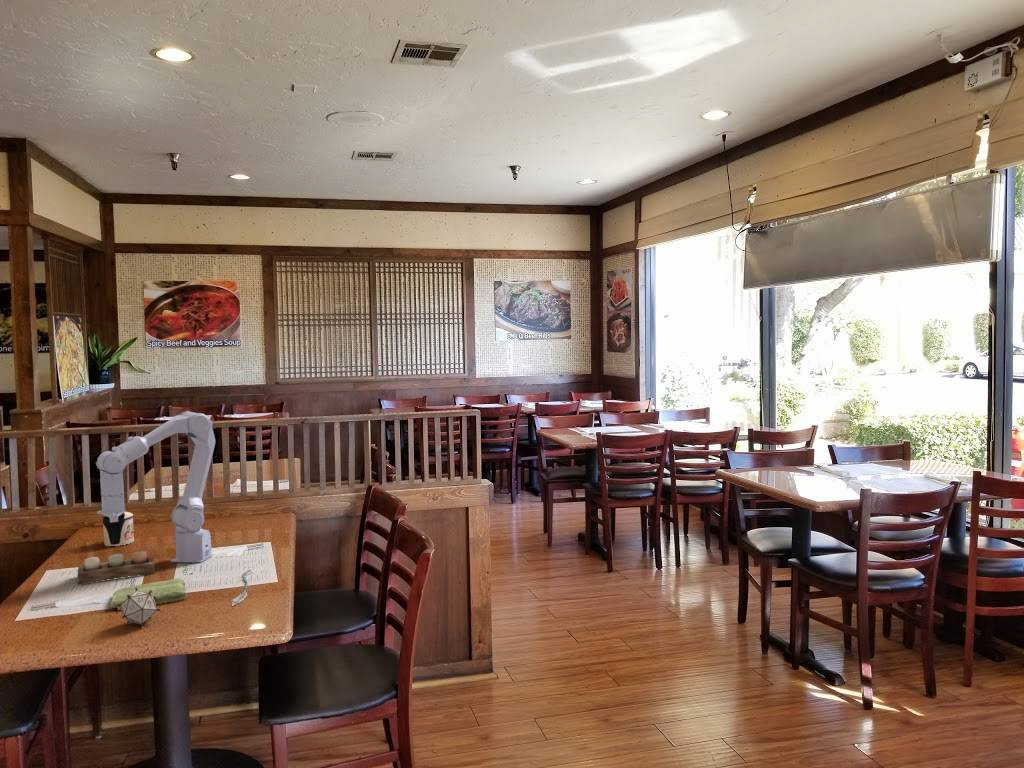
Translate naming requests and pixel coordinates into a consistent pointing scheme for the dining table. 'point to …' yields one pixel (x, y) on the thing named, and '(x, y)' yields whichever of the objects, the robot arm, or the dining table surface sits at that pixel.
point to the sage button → (116, 560)
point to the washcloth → (153, 592)
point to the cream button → (92, 563)
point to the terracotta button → (139, 557)
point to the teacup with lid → (126, 532)
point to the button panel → (115, 571)
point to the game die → (139, 607)
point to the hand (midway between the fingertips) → (115, 542)
